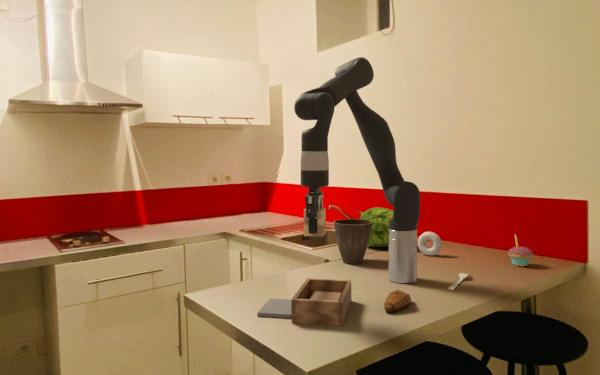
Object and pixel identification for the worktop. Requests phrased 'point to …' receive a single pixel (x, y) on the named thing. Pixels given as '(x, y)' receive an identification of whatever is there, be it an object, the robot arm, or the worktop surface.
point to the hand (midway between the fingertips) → (314, 231)
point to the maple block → (319, 223)
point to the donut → (434, 238)
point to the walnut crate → (321, 302)
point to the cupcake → (520, 254)
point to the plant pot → (352, 238)
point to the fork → (460, 279)
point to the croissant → (396, 301)
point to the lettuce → (378, 225)
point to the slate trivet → (276, 308)
